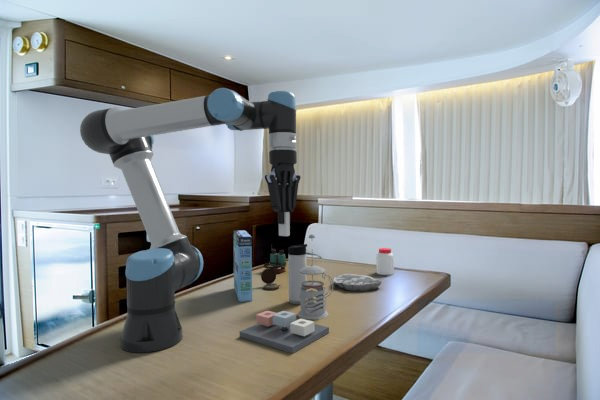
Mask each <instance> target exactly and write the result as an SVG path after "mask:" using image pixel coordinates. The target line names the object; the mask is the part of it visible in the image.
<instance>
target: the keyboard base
mask: <svg viewBox="0 0 600 400" xmlns="http://www.w3.org/2000/svg"><path fill="white" fill-rule="evenodd" d="M296 320H298V319H297V318H296ZM314 326H315V331H313V332H312V333H310V334H308V335H306V336H301V335H298V334H294V333H290V326H287V330H282V326H279V325H275V324H273V325H271V326H269V327H268V326H264V325H261V324H257V323H256V324H254V325H252V326H249V327H247V328H245V329H241V330H240V331H239V338H242V339H246V340H249V341H251V342H253V343H259V344H262V345H265V346H268V347H270V348H274V349H278V350H281V351H284V352H287V353H290V354H294V353H296V352H298V351H300V350H301V349H303V348H305V347H307V346H308V345H310V344H312V343H314V342H315V341H317V340H319V339H320V338H323V337H325V335H328V334H329V333H330V327H329V326H325V325H321V324H317V323H314Z"/></svg>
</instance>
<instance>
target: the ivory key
mask: <svg viewBox="0 0 600 400" xmlns="http://www.w3.org/2000/svg"><path fill="white" fill-rule="evenodd" d="M314 324H315V321H314V320H313V321H312V320H310V319H304V318H299V319H297V320H296V321H294V322H292V323H290V333H294V334H298V335H301V336H306V335H308V334H310V333H312V332H313V331H315V326H314Z"/></svg>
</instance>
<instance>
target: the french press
mask: <svg viewBox="0 0 600 400" xmlns="http://www.w3.org/2000/svg"><path fill="white" fill-rule="evenodd" d="M315 238H316V236H315V235H314V234H309V236H308V239H311V240H314V239H315ZM313 256H314V254H313V250H311V265H307V266H306V267H303V268H302V269H300V270H299V271H300V273H302V274H306V275H307V276H312V277H311V278H312V279H311V280H307V281H304V282H302V283H301V285H302V286H303V287H301V288H300V300H301V304H300V311H298V313H296V316H298V317H299V318H300V319H305V320H311V321H312V320H313V321H314V320H322V319H325V318H327V317H329V312H328V311H327V310H326V309H327V307H326V303H327V301H326V300H327V298H328V297H330V295H331V294H332V292H333V291H334V281H333V279H332V277H331V276H330V275H329V274H327V273H326V269H325V268H323V267H322V266H319V265H314V263H313V261H314V259H313ZM316 275H317V276H318V275H321V277H322V279H323V280H325V279H326V276H327V277H328V280H329V289H328V291H327V292H326V287H324V285H325V283H324V281H321V280H314V276H316ZM331 288H332V289H331ZM310 289H311V290H310ZM313 289H315V290H313ZM306 290H307V291H306ZM306 298H307V300H305V299H306Z"/></svg>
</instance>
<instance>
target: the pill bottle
mask: <svg viewBox="0 0 600 400" xmlns="http://www.w3.org/2000/svg"><path fill="white" fill-rule="evenodd" d="M394 255H395V254H394V253H393V252H392V249H391V248H389V247H379V248H378V252H377V253H376V256H375V257H376V261H375V263H376V269H375V270H376V274H377V275H382V276H391V275H394V274H395V261H394V260H395V259H394V258H395V256H394Z"/></svg>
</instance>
